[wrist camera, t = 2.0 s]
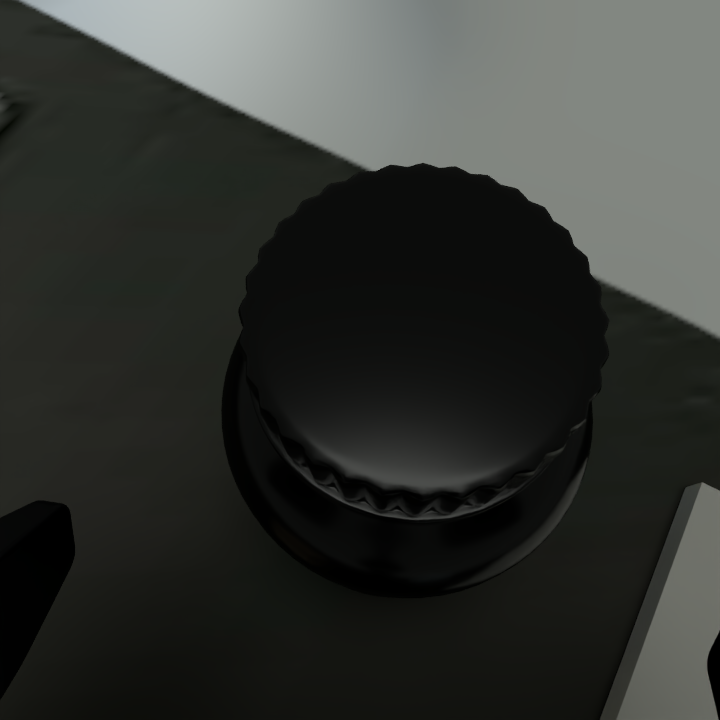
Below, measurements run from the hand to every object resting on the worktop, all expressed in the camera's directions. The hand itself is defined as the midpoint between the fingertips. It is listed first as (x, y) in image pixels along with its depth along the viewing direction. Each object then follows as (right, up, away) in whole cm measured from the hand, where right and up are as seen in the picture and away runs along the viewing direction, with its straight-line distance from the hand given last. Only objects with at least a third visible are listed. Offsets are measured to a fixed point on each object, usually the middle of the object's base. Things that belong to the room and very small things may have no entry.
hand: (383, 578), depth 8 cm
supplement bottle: (+1, -1, +11) cm, 11 cm away
